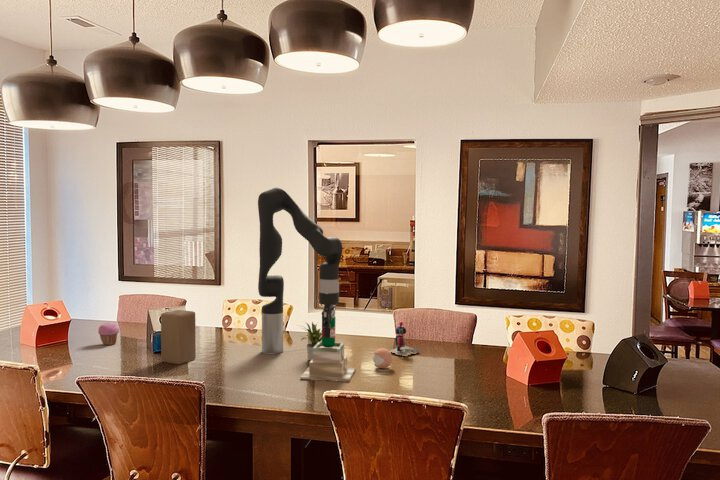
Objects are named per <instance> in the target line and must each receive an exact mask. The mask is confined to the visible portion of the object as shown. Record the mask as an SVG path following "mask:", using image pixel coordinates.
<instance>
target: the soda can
mask: <svg viewBox="0 0 720 480" xmlns="http://www.w3.org/2000/svg"><path fill="white" fill-rule="evenodd" d="M330 318H331V317H330ZM330 318H329V319H330ZM325 324H328V322H327V321H326V322H325ZM321 331H322V332H321V333H322V335H321V337H322V340H321V342H322V346H323V347H327V348H330V347H334V346H335V342H336V315H335V316H334V314H333V317H332V322H331V327H330V338H324V327H322V326H321Z"/></svg>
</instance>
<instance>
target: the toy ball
mask: <svg viewBox="0 0 720 480" xmlns="http://www.w3.org/2000/svg"><path fill="white" fill-rule="evenodd" d="M373 353H374V354H373V357H372V360H373V361H372V362H373V363H374V366H375V367H376V368H377V369H379V368H385V369H387V368H390V366H391V365H392V363H393V355H392V354H393V353H391V352H390V350H388V349H387V348H383V347H382V348H378V349H376V350H375V351H374V352H373Z"/></svg>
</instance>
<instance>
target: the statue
mask: <svg viewBox="0 0 720 480" xmlns="http://www.w3.org/2000/svg"><path fill="white" fill-rule="evenodd" d="M398 324H399V326H396V328H395V334H396V336H395V345H396V348H393V349H390V350H389V351H390V353H391V352H392V353H391V354H393V353H395V354H394V355H397V354H398V355H397V356H399V355H400V356H401V355H409V354H412V353H414V352H417V354H419V352H421V350H419V349H415V348H413V347H410V346H407V345H406V339H405V334H406V333H407V329H406V326H403V325H404V321H402V320H400V321H399V323H398ZM410 351H411V352H410Z"/></svg>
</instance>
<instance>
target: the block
mask: <svg viewBox="0 0 720 480" xmlns="http://www.w3.org/2000/svg"><path fill="white" fill-rule="evenodd" d="M196 344H197V342H196V312H195V311H191V310H183V309H175V310H171V311H165V312H163V313H161V314H160V347H161V349H160V350H161V351H160V353H161V354H160V356H161V357H160V358H161V359H160V360H161V362H162V363H166V362H167V364H174V365H182V364H185V363H188V362H190V361H193V360H196V358H197V357H196V356H197V355H196V353H197V352H196V350H197V349H196Z"/></svg>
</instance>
